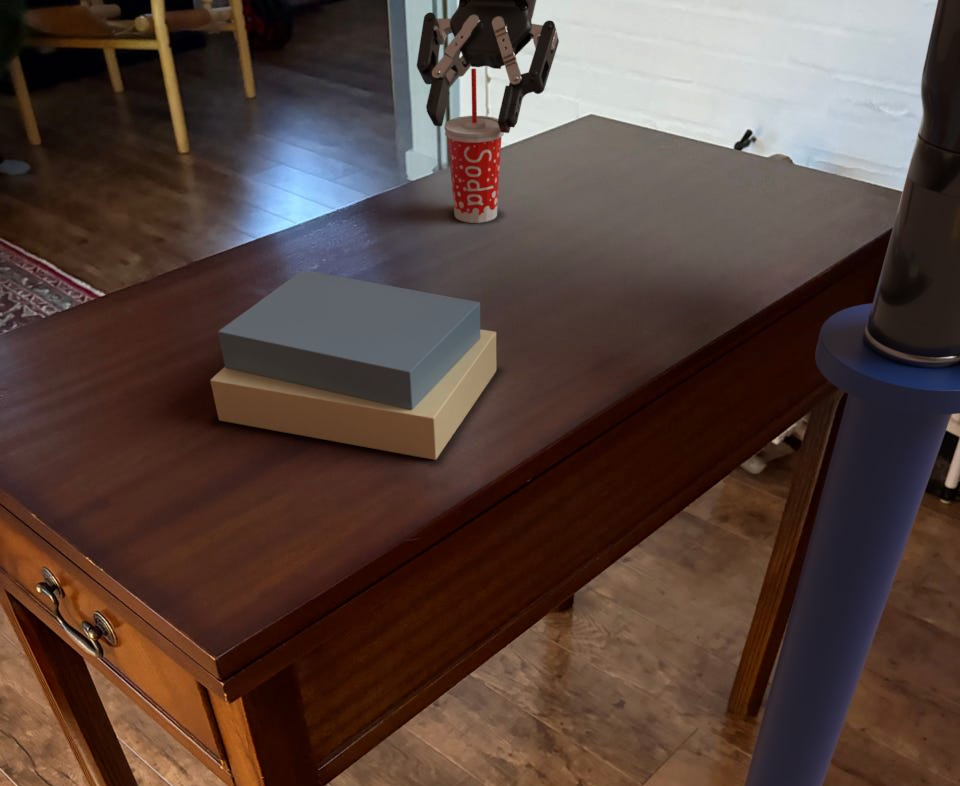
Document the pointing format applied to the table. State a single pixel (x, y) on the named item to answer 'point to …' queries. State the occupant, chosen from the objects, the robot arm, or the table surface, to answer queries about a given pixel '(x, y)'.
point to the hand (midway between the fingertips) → (469, 124)
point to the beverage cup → (474, 163)
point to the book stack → (355, 364)
